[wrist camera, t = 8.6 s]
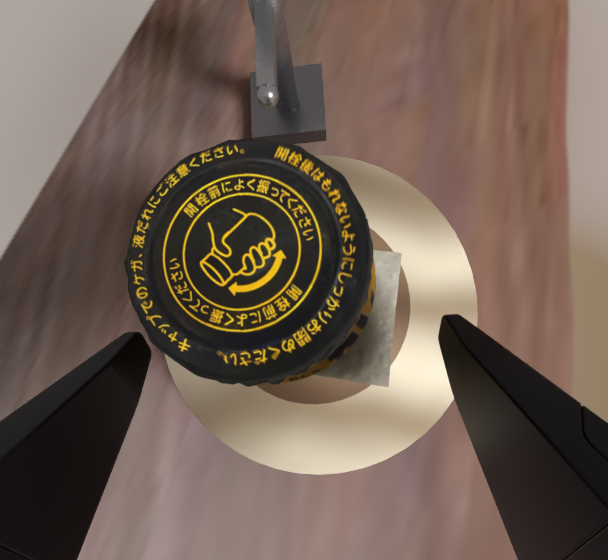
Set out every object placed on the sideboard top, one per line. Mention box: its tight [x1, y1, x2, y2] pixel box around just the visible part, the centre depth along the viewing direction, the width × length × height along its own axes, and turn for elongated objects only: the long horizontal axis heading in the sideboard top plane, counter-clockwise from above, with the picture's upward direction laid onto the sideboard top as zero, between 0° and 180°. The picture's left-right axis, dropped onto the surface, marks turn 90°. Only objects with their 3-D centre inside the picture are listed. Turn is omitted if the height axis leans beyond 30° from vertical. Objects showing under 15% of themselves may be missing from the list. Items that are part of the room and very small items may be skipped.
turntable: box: [164, 155, 478, 475], centre depth 19 cm, size 18×18×2 cm
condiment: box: [124, 139, 402, 387], centre depth 12 cm, size 7×8×12 cm
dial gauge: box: [248, 0, 326, 144], centre depth 16 cm, size 8×5×12 cm, turn 3°
